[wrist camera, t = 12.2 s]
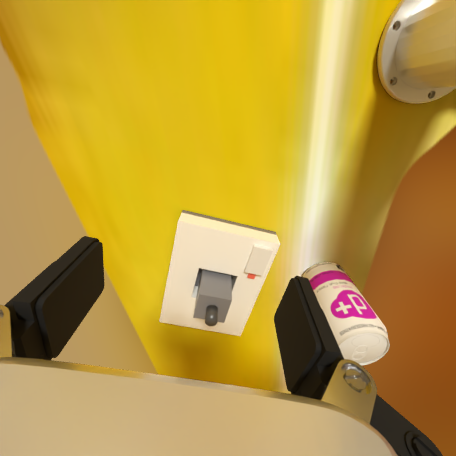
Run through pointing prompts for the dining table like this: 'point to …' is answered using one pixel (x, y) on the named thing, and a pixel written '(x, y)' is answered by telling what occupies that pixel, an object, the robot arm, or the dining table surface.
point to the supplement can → (348, 314)
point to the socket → (216, 268)
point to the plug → (213, 297)
